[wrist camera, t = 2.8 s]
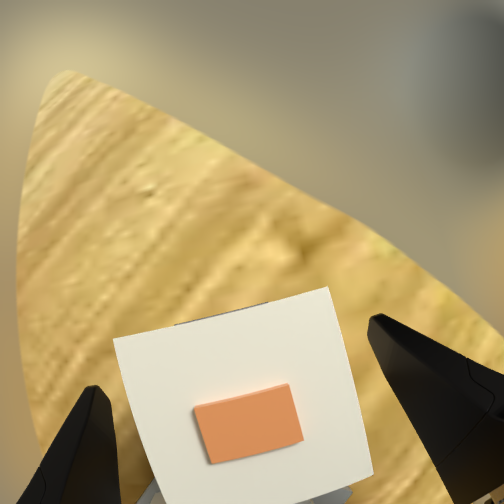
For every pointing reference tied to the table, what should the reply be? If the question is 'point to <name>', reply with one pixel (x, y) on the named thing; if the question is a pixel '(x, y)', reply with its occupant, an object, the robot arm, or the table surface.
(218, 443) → the white block orange patch
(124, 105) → the table surface
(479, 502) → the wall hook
